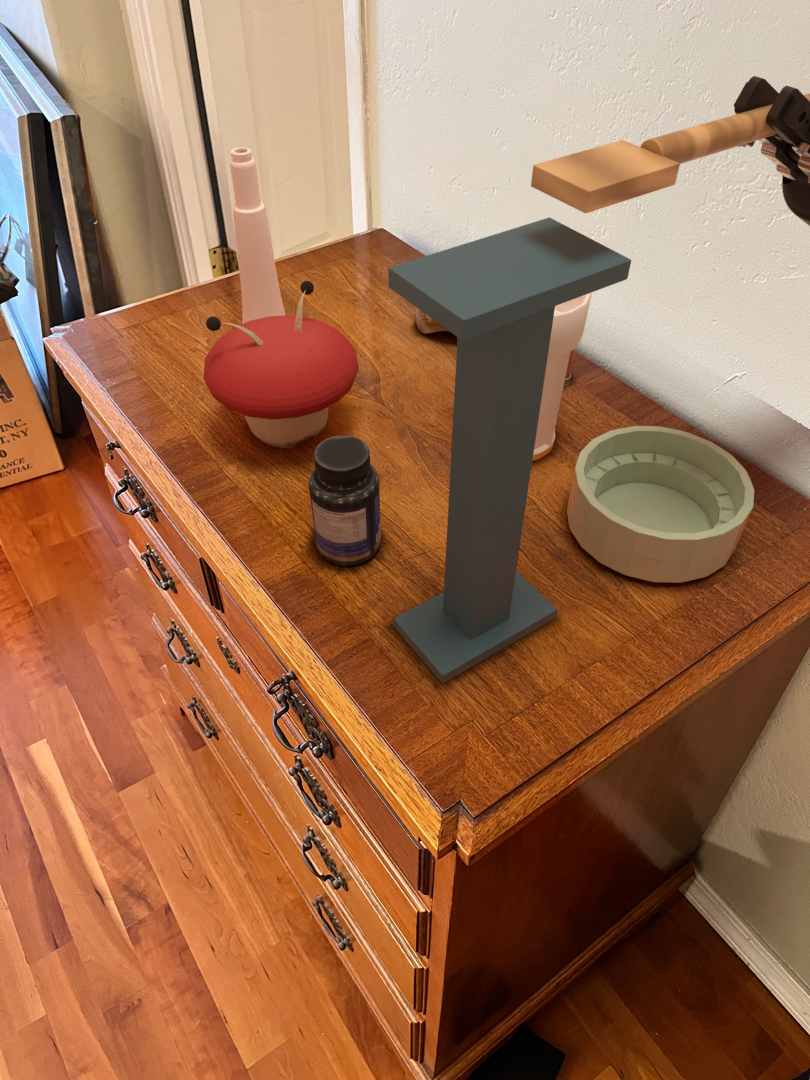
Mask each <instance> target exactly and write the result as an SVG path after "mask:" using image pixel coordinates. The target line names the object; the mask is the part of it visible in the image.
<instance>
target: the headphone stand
mask: <svg viewBox="0 0 810 1080" xmlns="http://www.w3.org/2000/svg"><path fill="white" fill-rule="evenodd" d="M631 264H632V259H631V258H629V257H627V256H625V255H623V254H621V253H620V252H617V251H615V250H614V249H612V248H610V247H608V246H606V245H604V244H602V243H600V242H598V241H596V240H594V239H592V238H590V237H589V236H587V235H585V234H583V233H581V232H579V231H576V230H575V229H573V228H572V227H569V226H567V225H565V224H563V223H561V222H559V221H557V220H556V219H554V218H552V217H546V218H543V219H540V220H536V221H533V222H530V223H527V224H524V225H521V226H517V227H514V228H511V229H508V230H505V231H501V232H498V233H495V234H491V235H489V236H485V237H482V238H479V239H475V240H472V241H469V242H466V243H463V244H459V245H457V246H453V247H450V248H447V249H444V250H441V251H438V252H433V253H431V254H428V255H424V256H421V257H417V258H415V259H411V260H409V261H405V262H402V263H399V264H396V265H392V266H390V267H388V268H387V271H388V272H387V273H388V274H387V275H388V277H387V278H388V281H387V283H388V288H389V289H390V290H392V291H393V292H395V294H397V295H399V296H400V297H401V298H403V299H404V300H406V301H407V302H408V303H409V304H411V305H412V306H414V307H415V308H416V309H417V308H418V309H420V310H421V311H422V312H424V313H425V314H426V315H428V316H429V317H431V318H432V319H433V320H435V321H436V322H437V323H439V324H440V325H442V326H443V327H444V328H446V329H447V330H449V331H450V332H449V333H451V334H452V335H454V336H455V337H457V339H456V340H457V341H456V356H455V357H456V359H455V378H454V397H453V413H452V414H453V415H452V430H451V431H452V432H451V450H450V452H451V454H450V467H449V469H450V471H449V489H448V490H449V492H448V508H447V525H446V542H445V543H446V544H445V545H446V546H445V560H444V561H445V563H444V565H445V566H444V583H443V591H442V592H441V593H439V594H437V595H435V596H433V597H431V598H429V599H428V600H426V601H424V602H422V603H420V604H418V605H415V606H414V607H412V608H410V609H408V610H407V611H405V612H403V613H401V614H399V615H397V616H395V617H394V618H393V628H394V629H395V630H396V632H397V633H398V634H399V635H400V637H402V639H403V640H404V641H405V642H406V643H407V645H408V646H409V647H410V648H411V649H412V650H413V652H414V653H415V655H417V656H418V658H419V659H420V660H421V661H422V662H423V663H424V665H425V666H426V667H427V669H429V671H430V672H431V673H432V674H433V676H435V677H436V679H437V680H438V681H439V683H440V684H441V685H443V684H445V683H447V682H449V681H450V680H452V679H454V678H455V677H457V676H458V675H461V674H462V673H464V672H465V671H467V670H469V669H471V668H472V667H474V666H476V665H478V664H480V663H482V662H483V661H484V660H486V659H488V658H490V657H492V656H494V655H495V654H497V653H498V652H500V651H502V650H504V649H505V648H507V647H508V646H510V645H512V644H513V643H515V642H517V641H519V640H521V639H522V638H524V637H525V636H527V635H529V634H531V633H533V632H534V631H536V630H539V628H542V627H543V626H544V625H546V624H548V623H550V622H552V621H554V620H555V619H557V618H556V617H557V612H558V608H557V607H556V606H555V605H553V603H551V602H550V601H549V600H548V599H547V598H546V597H545V596H544V595H543V594H542V593H541V592H540V591H538V589H536V588H535V587H534V586H533V585H532V584H531V583H530V582H529V581H528V580H527V579H526V578H525V577H523V575H521V573H520V572H519V571H517V567H518V561H519V556H520V555H519V554H520V547H521V542H522V541H521V540H522V534H523V527H524V521H525V514H526V507H527V501H528V493H529V486H530V479H531V474H532V473H531V472H532V467H533V466H532V465H533V461H532V460H533V453H534V446H535V440H536V433H537V426H538V419H539V412H540V406H541V399H542V392H543V385H544V378H545V372H546V365H547V358H548V351H549V344H550V338H551V331H552V324H553V317H554V311H555V306H557V305H559V304H562V303H565V302H567V301H570V300H573V299H575V298H578V297H581V296H583V295H586V294H589V293H594V292H597V291H599V290H603V289H605V288H607V287H610V286H613V285H615V284H618V283H621V282H624V281H627V280H628V278H629V273H630V269H631Z"/></svg>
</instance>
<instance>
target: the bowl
mask: <svg viewBox="0 0 810 1080" xmlns="http://www.w3.org/2000/svg"><path fill="white" fill-rule="evenodd" d="M754 502H755V487H754V485H753V483H752V480H751V478H750V476H749V474H748V471H747V469H745V468H744V466H743V465H742V464H741V463H740V462H739V461H738V460H737V459H736V458H735V457H734V456H733V455H732V454H731V453H729V452H728V451H727V450H725V449H723V448H722V447H720V446H719V445H717V444H716V443H714V442H712V441H710V440H708V439H705V438H703V437H700V436H698V435H695V434H693V433H690V432H688V431H685V430H679V429H676V428H670V427H666V426H665V427H664V426H659V425H632V426H627V427H622V428H615V429H612V430H609V431H607V432H604V433H603V434H601V435H598V436H596V437H594V438H592V439H591V440H590V442H588V443H587V445H585V447H584V448H583V449H581V450H580V452H579V453H578V457H577V460H576V463H575V466H574V471H573V475H572V481H571V486H570V490H569V496H568V500H567V506H566V516H567V521H568V528H569V530H570V532H571V533H572V535H573V536H574V539H576V541H577V543H578V544H579V546H580V547H581V548H582V549H583V550H584V551H585V552H587V553H588V554H589V555H590V556H591V557H592V558H594V559H595V560H596V561H597V562H598V563H600V564H602V565H603V566H605V567H607V568H609V569H611V570H613V571H615V572H617V573H619V574H622V575H623V576H627V577H631V578H635V579H639V580H643V581H647V582H650V583H669V584H670V583H672V584H673V583H675V584H676V583H677V584H681V583H685V582H686V583H687V582H690V581H694V580H699V579H702V578H706V577H708V576H710V575H712V574H714V573H715V572H717V571H718V570H720V569H721V568H723V567H725V566H726V564H727V563H728V561H729V560H730V558H732V555H733V554H734V552H735V551H736V549H737V546H738V544H739V541H740V539H741V537H742V534H743V532H744V530H745V528H746V525H747V523H748V520H749V518H750V516H751V513H752V511H753V509H754V504H755V503H754Z"/></svg>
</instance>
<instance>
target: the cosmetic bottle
mask: <svg viewBox="0 0 810 1080" xmlns="http://www.w3.org/2000/svg"><path fill="white" fill-rule="evenodd" d="M230 156H231V159H230V161H229V168H230V174H231V180H232V181H231V182H232V187H233V193H234V200H235V201H234V202H235V203H234V204H233V205H232V216H233V228H234V235H235V246H236V253H237V262H238V272H239V282H240V283H239V284H240V293H241V311H242V313H241V314H242V317H241V318H242V321H241V323H242V324H244V323H246V322H248V321H251V320H255V319H260V318H264V317H268V316H282V315H286V311H285V310H286V309H285V306H284V302H283V297H282V294H281V288H280V283H279V279H278V273H277V267H276V261H275V255H274V249H273V243H272V236H271V232H270V226H269V220H268V215H267V210H266V205H265V203H264V202H263V201H261V193H260V185H259V178H258V170H257V163H256V160H255V158H254V157H253V151H252V149H251V148H249V147H235V148H232V149H231V150H230Z"/></svg>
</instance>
